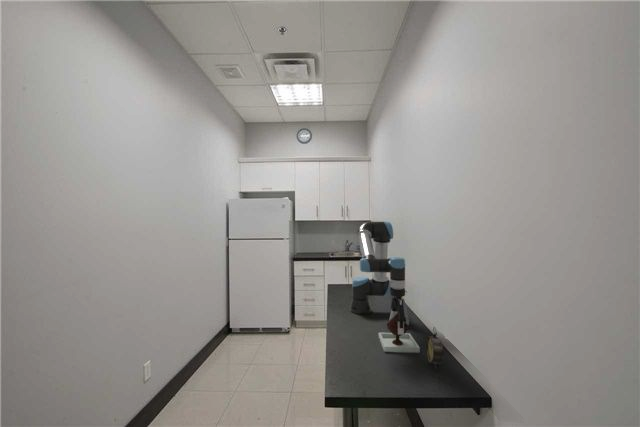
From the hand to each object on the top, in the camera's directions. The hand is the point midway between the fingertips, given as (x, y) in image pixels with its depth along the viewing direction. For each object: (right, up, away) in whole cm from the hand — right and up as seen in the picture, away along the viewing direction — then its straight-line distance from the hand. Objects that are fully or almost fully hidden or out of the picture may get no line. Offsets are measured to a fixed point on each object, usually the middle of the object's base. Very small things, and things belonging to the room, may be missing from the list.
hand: (397, 328), depth 140 cm
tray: (0, -8, -1) cm, 8 cm away
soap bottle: (+10, -9, +30) cm, 33 cm away
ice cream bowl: (0, -8, 0) cm, 8 cm away
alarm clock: (+11, -7, -20) cm, 24 cm away
